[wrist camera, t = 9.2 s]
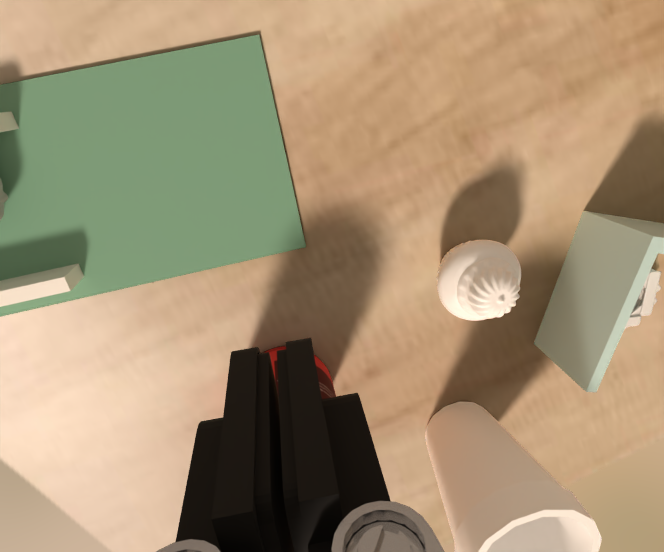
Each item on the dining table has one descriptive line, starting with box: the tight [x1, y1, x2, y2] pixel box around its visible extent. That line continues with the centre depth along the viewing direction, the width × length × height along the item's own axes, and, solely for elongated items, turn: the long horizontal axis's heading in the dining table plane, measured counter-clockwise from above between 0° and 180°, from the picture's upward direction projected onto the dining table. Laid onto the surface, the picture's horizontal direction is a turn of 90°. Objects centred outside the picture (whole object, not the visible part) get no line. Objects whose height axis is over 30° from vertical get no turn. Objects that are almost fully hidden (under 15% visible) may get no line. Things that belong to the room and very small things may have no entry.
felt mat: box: [0, 35, 306, 316], centre depth 30 cm, size 26×14×1 cm, turn 101°
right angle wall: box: [534, 211, 664, 392], centre depth 36 cm, size 12×12×8 cm
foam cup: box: [425, 401, 602, 552], centre depth 37 cm, size 10×9×13 cm
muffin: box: [437, 240, 521, 321], centre depth 33 cm, size 6×6×7 cm
